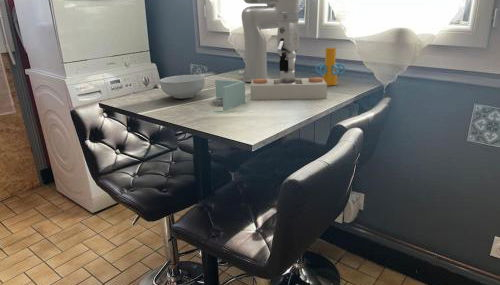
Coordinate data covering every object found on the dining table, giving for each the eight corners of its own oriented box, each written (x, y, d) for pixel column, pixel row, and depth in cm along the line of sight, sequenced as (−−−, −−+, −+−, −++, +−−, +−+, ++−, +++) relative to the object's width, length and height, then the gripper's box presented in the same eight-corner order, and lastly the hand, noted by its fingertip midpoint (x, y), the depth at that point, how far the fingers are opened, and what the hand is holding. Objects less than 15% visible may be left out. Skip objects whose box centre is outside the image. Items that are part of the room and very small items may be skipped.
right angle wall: (217, 100, 141) (216, 79, 139) (245, 102, 135) (244, 81, 133) (196, 106, 132) (195, 85, 129) (225, 110, 126) (224, 87, 123)
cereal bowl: (188, 90, 160) (187, 73, 158) (214, 95, 149) (213, 76, 147) (152, 97, 149) (150, 79, 147) (177, 103, 138) (176, 83, 136)
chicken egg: (253, 95, 143) (252, 81, 141) (253, 93, 148) (253, 78, 146) (267, 95, 143) (266, 80, 141) (267, 92, 148) (267, 78, 146)
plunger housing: (250, 99, 139) (250, 85, 137) (252, 92, 152) (252, 79, 151) (326, 98, 137) (327, 84, 136) (321, 90, 151) (322, 77, 149)
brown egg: (309, 94, 142) (309, 79, 140) (307, 92, 147) (308, 77, 145) (323, 94, 141) (323, 79, 140) (321, 91, 146) (322, 77, 145)
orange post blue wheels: (345, 82, 165) (347, 46, 161) (343, 87, 156) (344, 49, 151) (317, 82, 169) (318, 46, 165) (312, 86, 160) (313, 49, 155)
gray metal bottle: (296, 92, 148) (296, 38, 141) (296, 96, 142) (296, 40, 135) (279, 93, 149) (278, 39, 142) (278, 97, 142) (277, 40, 136)
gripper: (288, 18, 127) (288, 73, 133) (306, 17, 142) (305, 66, 147) (267, 19, 131) (268, 72, 136) (287, 17, 145) (287, 66, 151)
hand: (287, 69), depth 142 cm, fingers closed on gray metal bottle, 6 cm apart
